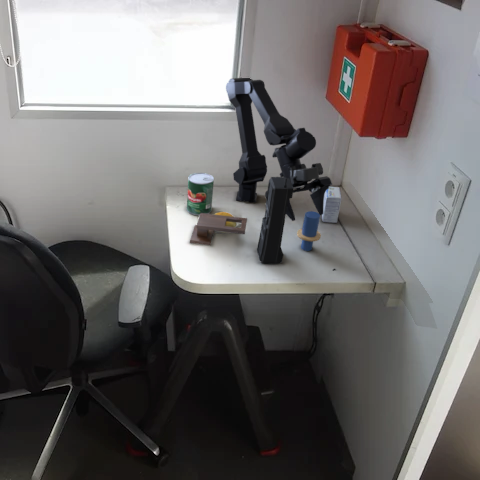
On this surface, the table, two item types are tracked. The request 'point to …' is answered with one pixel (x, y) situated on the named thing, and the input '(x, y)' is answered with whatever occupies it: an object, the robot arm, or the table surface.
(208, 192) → the canned tomato
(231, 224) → the bread roll
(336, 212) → the medicine box
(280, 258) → the portable radio
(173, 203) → the table surface
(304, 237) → the peg
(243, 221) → the stand
